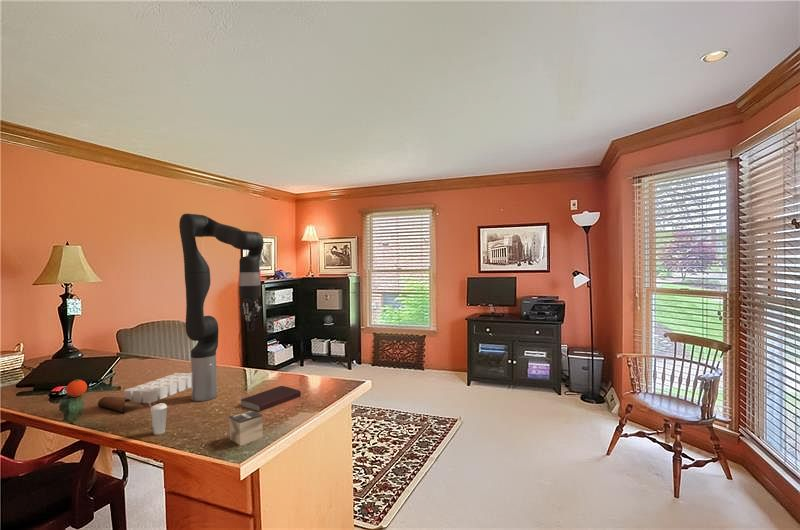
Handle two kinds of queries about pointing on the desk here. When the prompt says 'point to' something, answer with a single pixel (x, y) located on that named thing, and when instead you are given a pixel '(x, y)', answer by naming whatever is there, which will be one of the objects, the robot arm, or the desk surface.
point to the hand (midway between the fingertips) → (250, 330)
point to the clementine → (76, 388)
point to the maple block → (245, 427)
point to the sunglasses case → (119, 404)
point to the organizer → (159, 388)
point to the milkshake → (158, 418)
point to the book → (270, 398)
